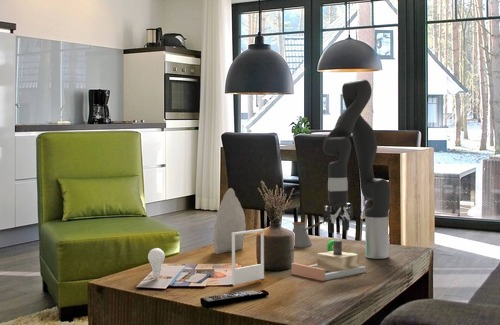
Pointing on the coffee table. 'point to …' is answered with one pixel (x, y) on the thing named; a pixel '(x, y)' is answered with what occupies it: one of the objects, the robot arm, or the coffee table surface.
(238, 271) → the photo frame
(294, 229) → the coffee pot
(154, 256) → the lightbulb
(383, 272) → the coffee table surface
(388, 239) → the robot arm
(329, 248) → the mechanical part
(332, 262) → the light wooden block
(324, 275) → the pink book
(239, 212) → the rock
